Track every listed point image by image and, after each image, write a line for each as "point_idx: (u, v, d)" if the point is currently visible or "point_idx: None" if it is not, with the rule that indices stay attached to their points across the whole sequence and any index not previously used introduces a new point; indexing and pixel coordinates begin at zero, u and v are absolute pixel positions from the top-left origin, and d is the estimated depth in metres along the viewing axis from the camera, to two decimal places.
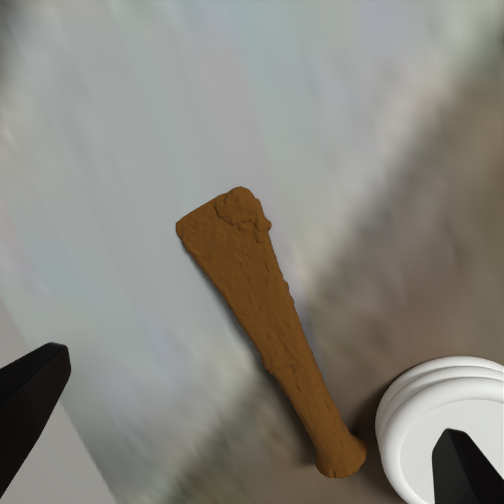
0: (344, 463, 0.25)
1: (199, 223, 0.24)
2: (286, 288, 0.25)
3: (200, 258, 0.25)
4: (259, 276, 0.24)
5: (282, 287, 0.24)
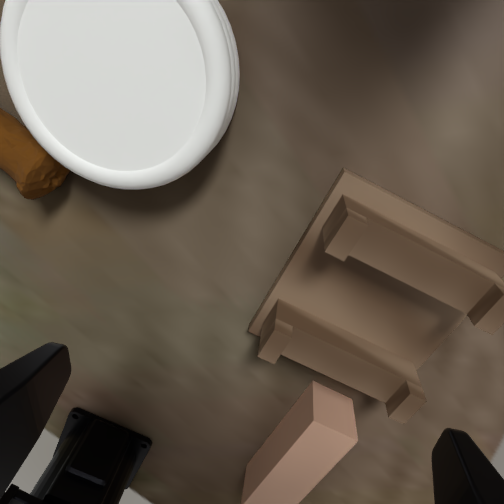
0: (21, 164, 0.20)
1: None
2: None
3: None
4: None
5: None
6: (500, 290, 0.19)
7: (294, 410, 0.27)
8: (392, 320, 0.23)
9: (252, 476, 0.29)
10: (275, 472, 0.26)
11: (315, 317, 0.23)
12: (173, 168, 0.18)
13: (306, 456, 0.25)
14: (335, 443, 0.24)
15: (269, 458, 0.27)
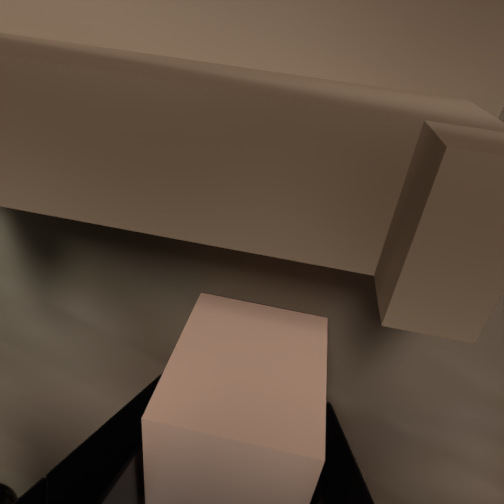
0: None
1: None
2: None
3: None
4: None
5: None
6: None
7: None
8: None
9: None
10: None
11: (41, 39, 0.06)
12: None
13: None
14: (256, 478, 0.07)
15: None
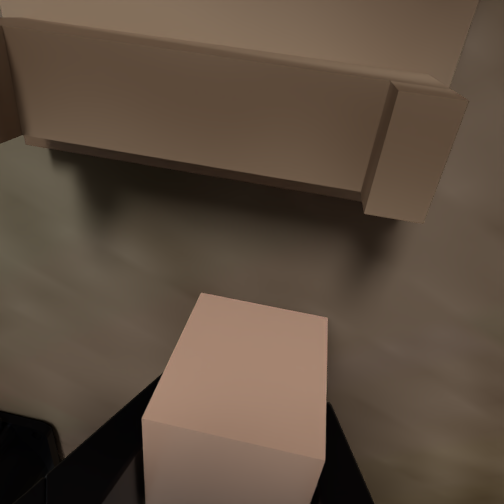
0: None
1: None
2: None
3: None
4: None
5: None
6: None
7: None
8: None
9: None
10: None
11: (123, 31, 0.09)
12: None
13: None
14: (257, 478, 0.07)
15: None
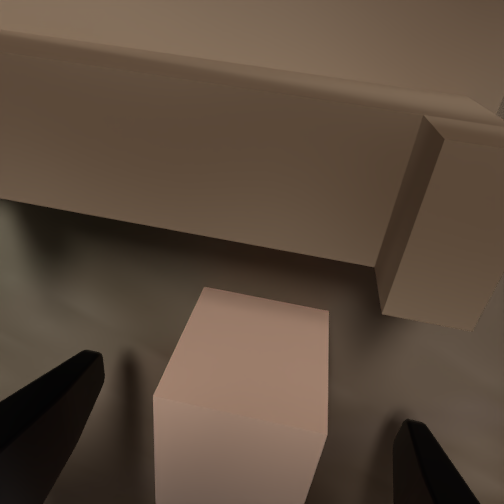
0: None
1: None
2: None
3: None
4: None
5: None
6: None
7: None
8: None
9: None
10: None
11: (49, 37, 0.07)
12: None
13: (208, 501, 0.08)
14: (262, 453, 0.07)
15: None
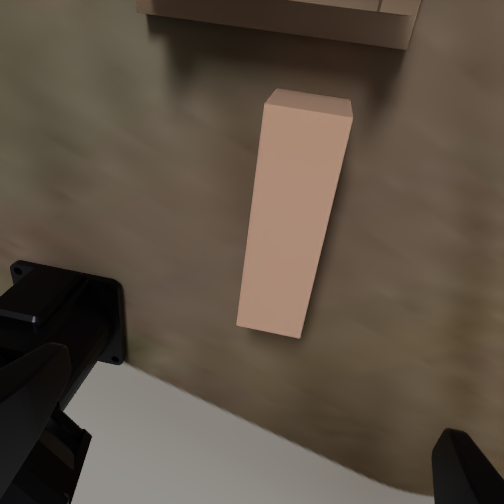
0: None
1: None
2: None
3: None
4: None
5: None
6: None
7: None
8: None
9: None
10: (253, 240, 0.17)
11: None
12: None
13: (284, 189, 0.15)
14: (318, 139, 0.14)
15: None
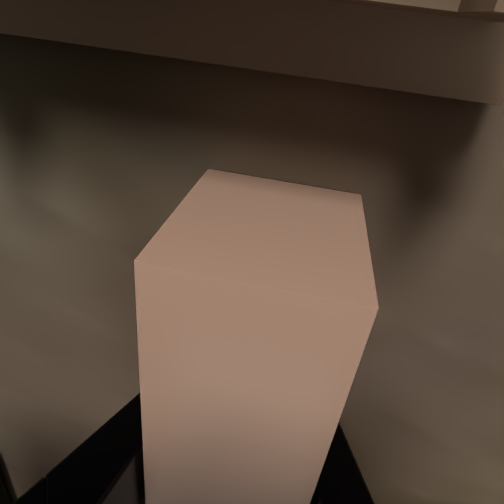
0: None
1: None
2: None
3: None
4: None
5: None
6: None
7: None
8: None
9: None
10: (158, 496, 0.08)
11: None
12: None
13: (210, 427, 0.06)
14: (284, 347, 0.05)
15: None
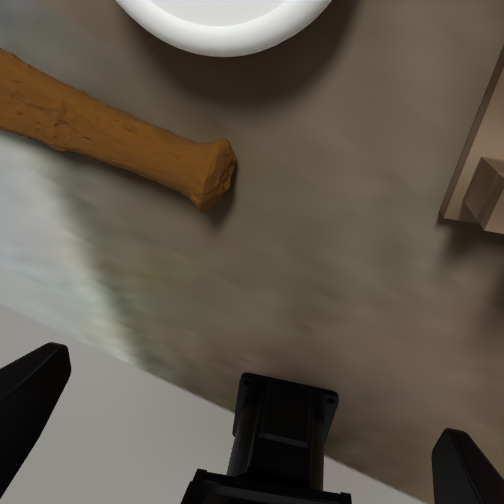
0: (194, 174, 0.18)
1: None
2: None
3: None
4: None
5: None
6: None
7: None
8: None
9: None
10: None
11: None
12: None
13: None
14: None
15: None
